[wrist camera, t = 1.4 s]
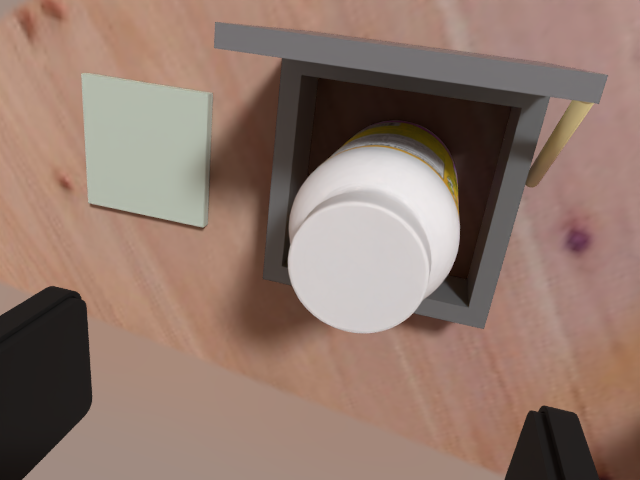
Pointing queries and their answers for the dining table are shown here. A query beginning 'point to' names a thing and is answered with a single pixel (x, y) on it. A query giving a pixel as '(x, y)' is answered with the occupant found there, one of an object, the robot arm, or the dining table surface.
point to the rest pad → (147, 148)
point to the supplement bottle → (375, 228)
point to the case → (430, 78)
